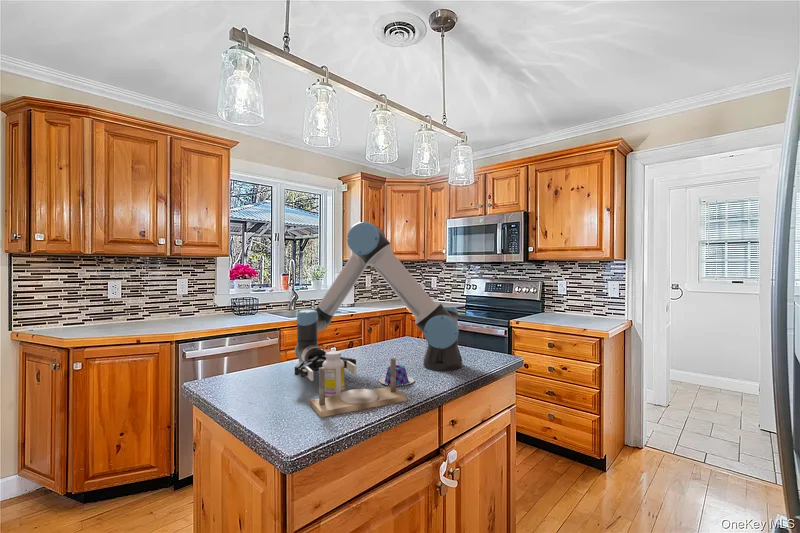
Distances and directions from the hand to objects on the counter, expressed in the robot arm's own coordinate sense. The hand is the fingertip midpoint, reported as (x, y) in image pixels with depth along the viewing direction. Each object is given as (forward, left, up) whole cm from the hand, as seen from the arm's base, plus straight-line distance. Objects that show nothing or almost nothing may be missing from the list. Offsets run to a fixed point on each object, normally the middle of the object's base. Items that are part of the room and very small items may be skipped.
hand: (334, 372), depth 120 cm
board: (-4, +9, -7) cm, 12 cm away
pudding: (-23, -4, -8) cm, 25 cm away
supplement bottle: (0, -2, -7) cm, 7 cm away
